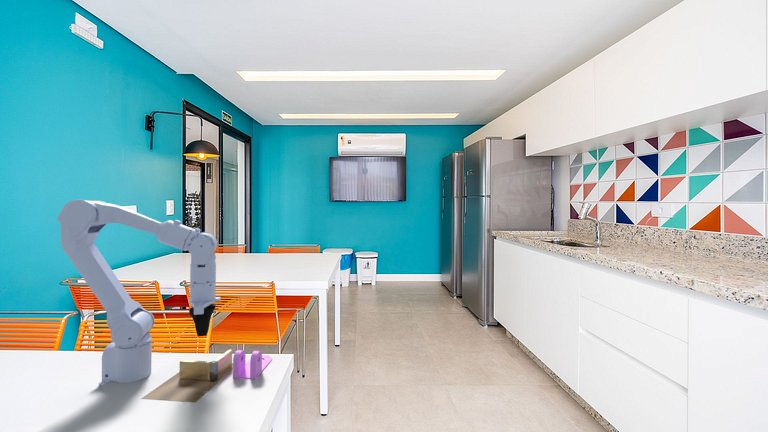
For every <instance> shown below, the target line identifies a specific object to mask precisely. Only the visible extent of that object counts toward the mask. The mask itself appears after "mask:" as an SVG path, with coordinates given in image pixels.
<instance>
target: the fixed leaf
mask: <svg viewBox="0 0 768 432" xmlns="http://www.w3.org/2000/svg"><path fill="white" fill-rule="evenodd" d="M232 363H233V350H232V349H228V350H227V351H225V352H224V353H223V354H222V355H220V356H218V357H217V358H216V359H215V360H212V361H210V380H209V381H210V382H215V381H217V380H218V378H219V377H220V376H221V375H222V374H223V373H224V372H226V371H227V370H228V369H229V368H230V367H231V366H232Z"/></svg>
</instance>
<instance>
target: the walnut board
mask: <svg viewBox="0 0 768 432" xmlns="http://www.w3.org/2000/svg"><path fill="white" fill-rule="evenodd" d="M230 372H233V362H232V366H231V367H230V368H229V369H228V370H227V371H226V372H224V373H223V374H222V375H221V376H220V377H219V378H218V380H217V381H215V382H210V381H209V380H210V379H208V380H201V379H185V378H179V372H177V373H175V374H174V375H173V376H172V377H170V378H169V379H167V380H166V381H164V382H163V383H161V384H160V385H158V386H157V387H156V388H154V389H153V390H151V391H150V392H149V393H147V394H145V395H144V396H142V398H141V399H142V400H153V401H155V400H157V401H168V402H169V401H170V402H185V403H197V402H198V401H199V400H200V399H201V398H202V397H203V396H205V395H206V394H207V393H208V392H209V391H210V390H212V389H213V388H214V387H215V386H216V385H217V384H218V383H220V381H222V380H223V379H224V378H226V376H227V375H229V374H230Z"/></svg>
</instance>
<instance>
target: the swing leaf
mask: <svg viewBox="0 0 768 432" xmlns="http://www.w3.org/2000/svg"><path fill="white" fill-rule="evenodd" d="M210 362H211V361H209V360H208V361H207V360H206V361H205V360H193V359H192V360H191V359H181V360H179V369H178V370H179V372H178V373H179V378H185V379H201V380H208V379H210Z"/></svg>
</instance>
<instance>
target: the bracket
mask: <svg viewBox="0 0 768 432" xmlns="http://www.w3.org/2000/svg"><path fill="white" fill-rule="evenodd" d="M250 356H251V357H250V359H249V360H248V361H247V362H246V351H245V350H244V349H243V350H241V349H238V350H236V351H234V354H233V357H232V363H233V370H232V379H244V380H245V379H249V380H251V379H253V380H257V378H258V377H259V376H260V375H261V373H262V372H263V371H264V370H265V369H266V368H267V367H268V365H269V364H270V363H271V362H272V361H273V358H272V357H271V356H270V355H265V354H264V355H263V353H262V351H261V350H253V351H252V353H251V355H250Z"/></svg>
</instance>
